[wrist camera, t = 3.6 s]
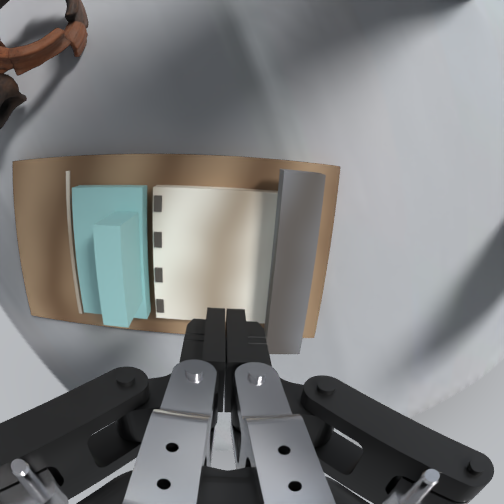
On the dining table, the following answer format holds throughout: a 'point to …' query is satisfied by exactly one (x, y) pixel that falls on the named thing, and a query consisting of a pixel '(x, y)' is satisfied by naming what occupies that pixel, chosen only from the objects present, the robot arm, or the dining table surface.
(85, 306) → the stub
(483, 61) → the dining table surface
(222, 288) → the ticket holder
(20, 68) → the pottery mug
